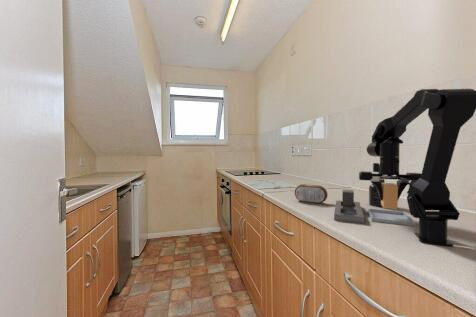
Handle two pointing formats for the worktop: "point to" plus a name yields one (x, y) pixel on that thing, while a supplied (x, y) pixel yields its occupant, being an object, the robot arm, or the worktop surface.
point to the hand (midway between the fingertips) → (388, 200)
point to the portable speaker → (311, 193)
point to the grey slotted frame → (348, 213)
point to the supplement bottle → (375, 195)
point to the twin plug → (348, 198)
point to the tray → (391, 217)
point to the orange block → (390, 195)
